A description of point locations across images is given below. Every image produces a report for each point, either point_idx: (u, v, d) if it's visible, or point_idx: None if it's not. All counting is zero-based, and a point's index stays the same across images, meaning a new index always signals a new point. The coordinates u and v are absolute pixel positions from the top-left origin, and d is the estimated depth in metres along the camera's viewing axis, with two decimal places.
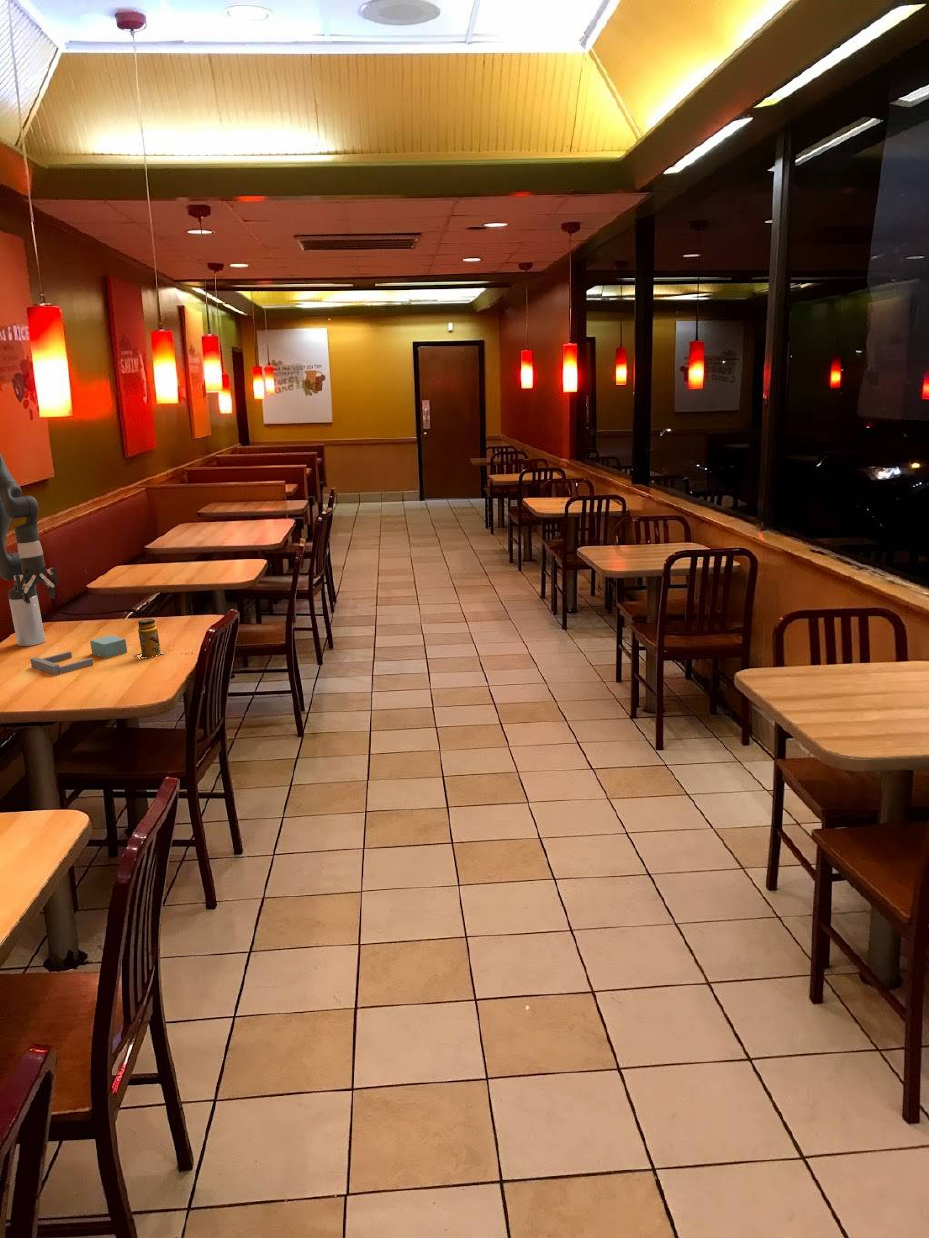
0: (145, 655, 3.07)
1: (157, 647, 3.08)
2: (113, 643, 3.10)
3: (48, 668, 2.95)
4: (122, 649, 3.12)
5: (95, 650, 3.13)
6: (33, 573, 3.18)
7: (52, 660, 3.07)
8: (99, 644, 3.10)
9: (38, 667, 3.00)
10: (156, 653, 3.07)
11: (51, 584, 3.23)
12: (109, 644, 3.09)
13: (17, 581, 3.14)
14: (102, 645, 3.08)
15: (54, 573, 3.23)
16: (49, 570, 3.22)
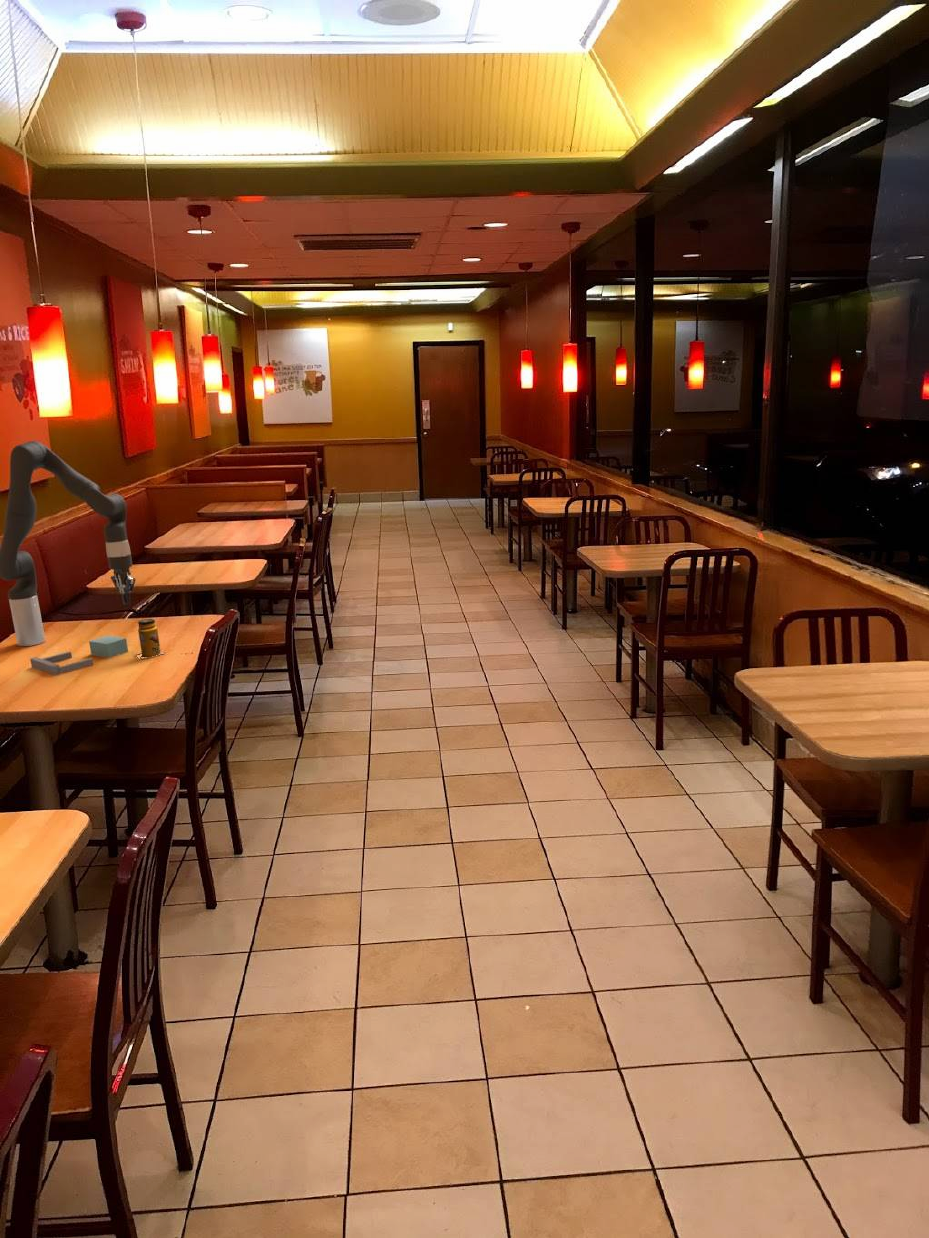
0: (145, 655, 3.07)
1: (157, 647, 3.08)
2: (115, 642, 3.10)
3: (48, 668, 2.95)
4: (123, 649, 3.13)
5: (95, 650, 3.12)
6: None
7: (52, 660, 3.07)
8: (100, 644, 3.10)
9: (38, 667, 3.00)
10: (156, 653, 3.07)
11: None
12: (111, 644, 3.09)
13: (133, 583, 3.13)
14: (104, 645, 3.09)
15: None
16: None
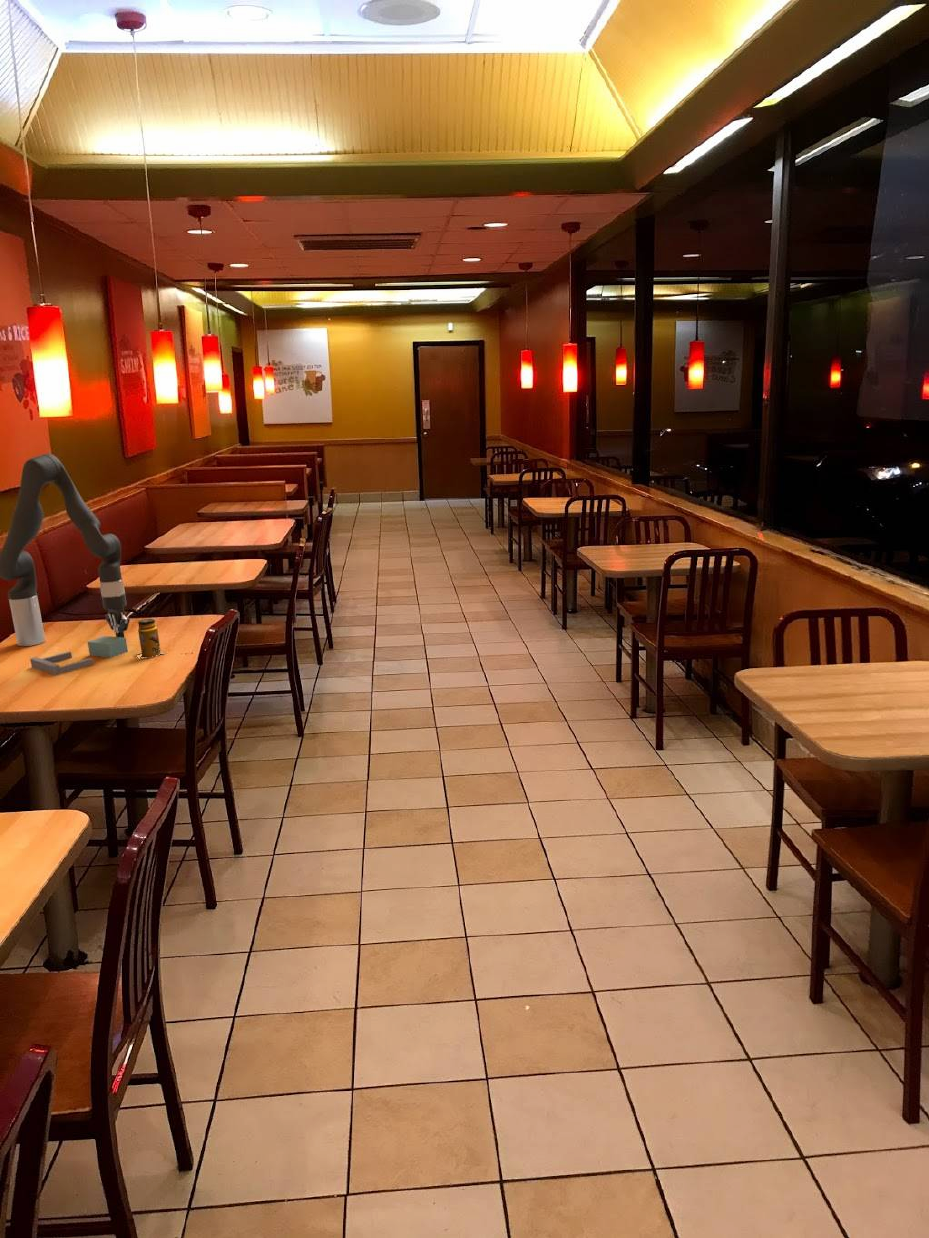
0: (145, 655, 3.07)
1: (157, 647, 3.08)
2: (115, 642, 3.10)
3: (48, 668, 2.95)
4: (123, 648, 3.13)
5: (94, 651, 3.12)
6: None
7: (52, 660, 3.07)
8: (101, 644, 3.09)
9: (38, 667, 3.00)
10: (156, 653, 3.07)
11: None
12: (112, 643, 3.09)
13: (128, 622, 3.13)
14: (105, 645, 3.08)
15: None
16: None
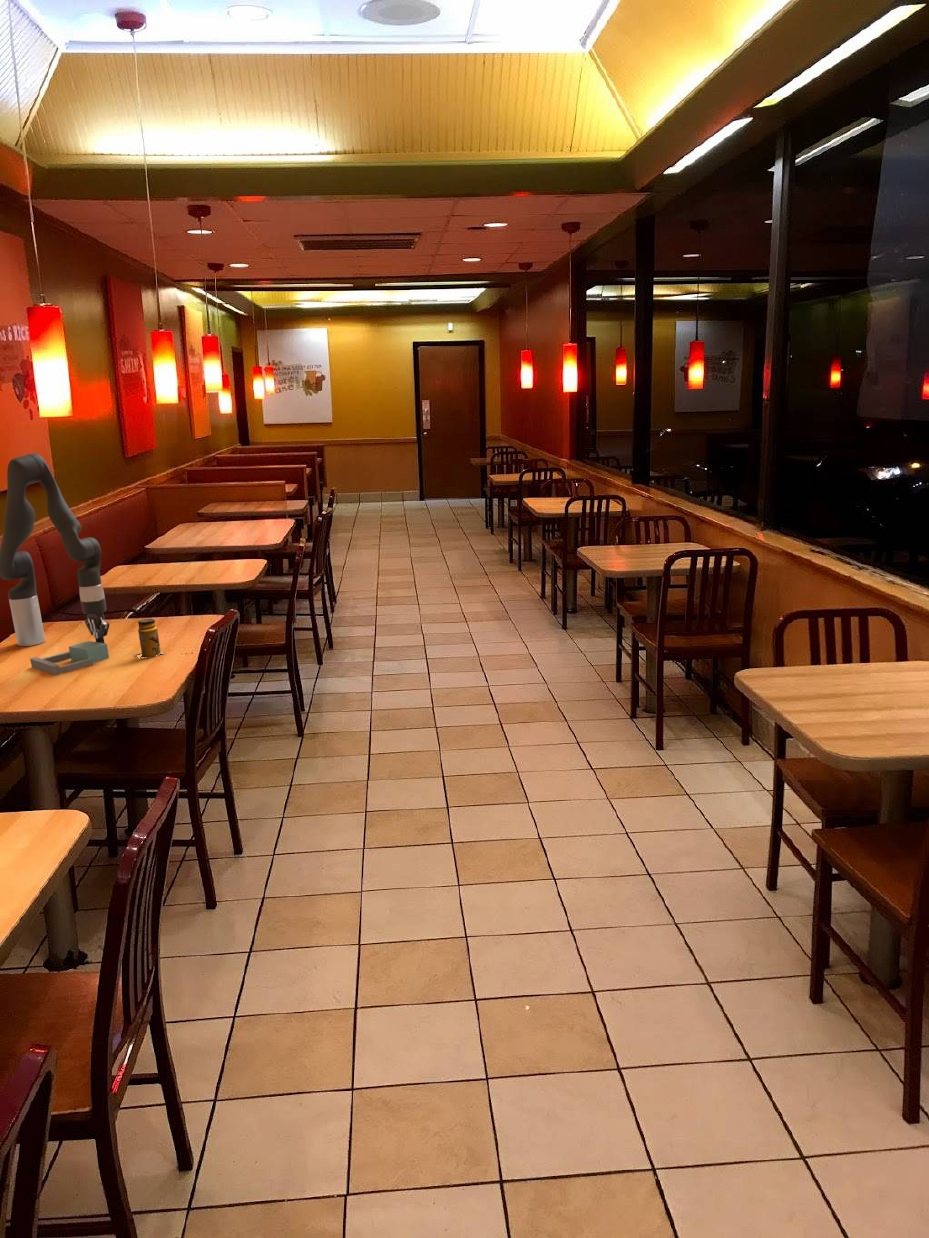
0: (145, 655, 3.07)
1: (157, 647, 3.08)
2: (95, 648, 3.04)
3: (48, 668, 2.95)
4: (103, 654, 3.07)
5: (75, 656, 3.07)
6: None
7: (52, 660, 3.07)
8: (80, 650, 3.04)
9: (38, 667, 3.00)
10: (156, 653, 3.07)
11: None
12: (91, 649, 3.03)
13: (107, 628, 3.08)
14: (84, 650, 3.03)
15: None
16: None
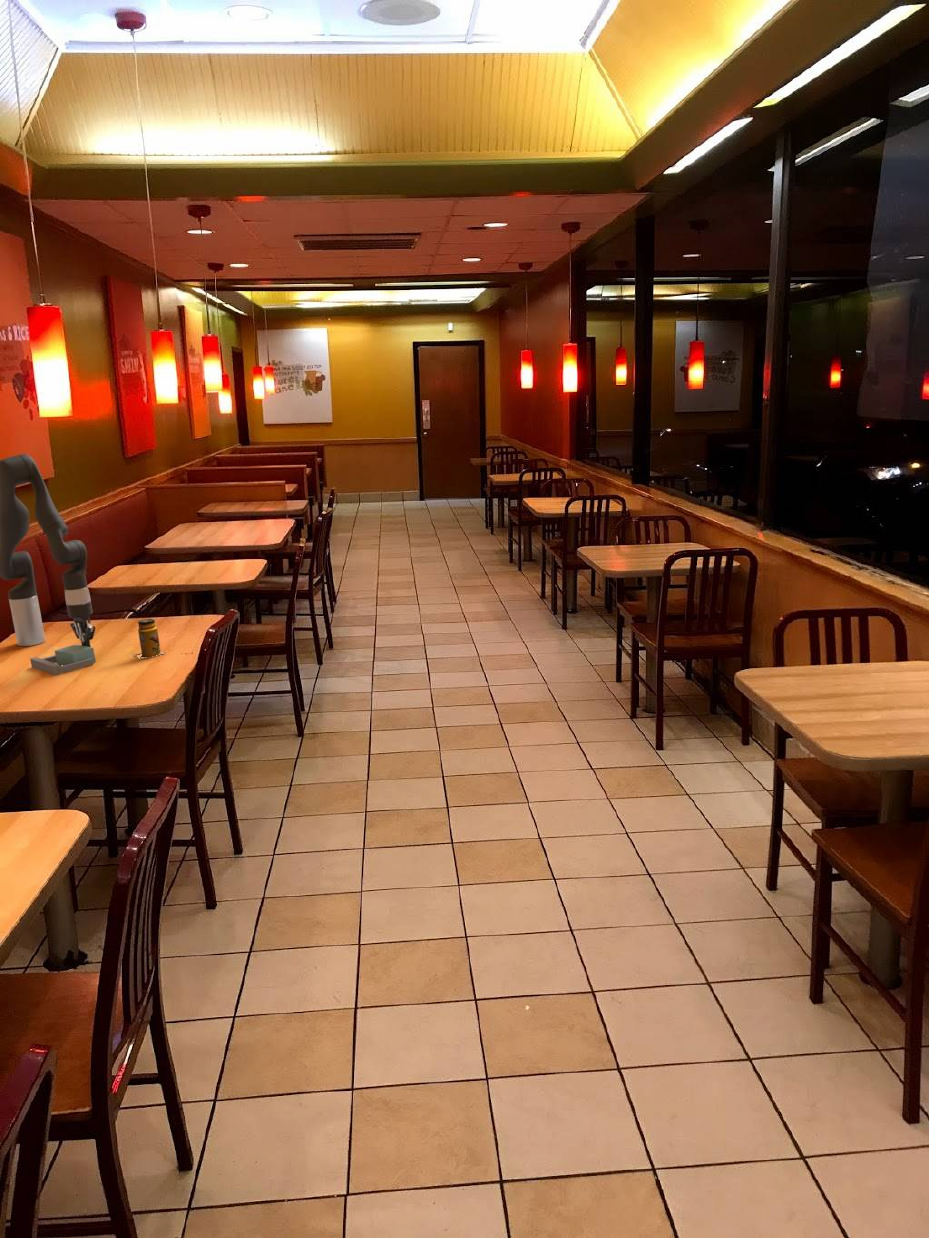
0: (145, 655, 3.07)
1: (157, 647, 3.08)
2: (81, 652, 3.01)
3: (48, 668, 2.95)
4: None
5: (61, 660, 3.03)
6: None
7: (52, 660, 3.07)
8: (66, 654, 3.00)
9: (38, 667, 3.00)
10: (156, 653, 3.07)
11: None
12: (77, 653, 2.99)
13: (93, 631, 3.04)
14: (70, 654, 2.99)
15: None
16: None
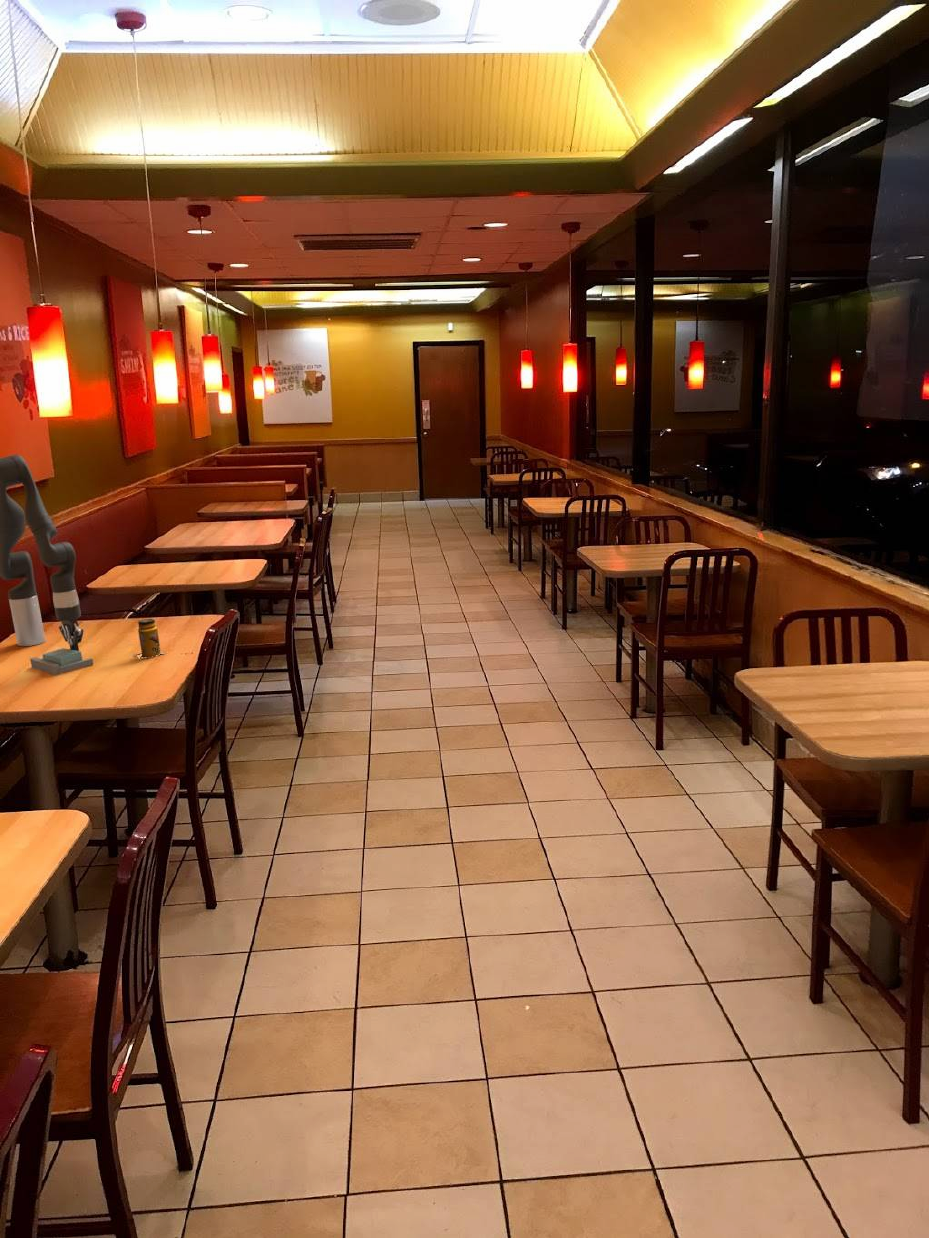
0: (145, 655, 3.07)
1: (157, 647, 3.08)
2: (69, 656, 2.98)
3: (48, 668, 2.95)
4: None
5: None
6: None
7: None
8: (54, 658, 2.97)
9: (38, 667, 3.00)
10: (156, 653, 3.07)
11: None
12: (65, 657, 2.96)
13: None
14: (57, 658, 2.96)
15: None
16: None
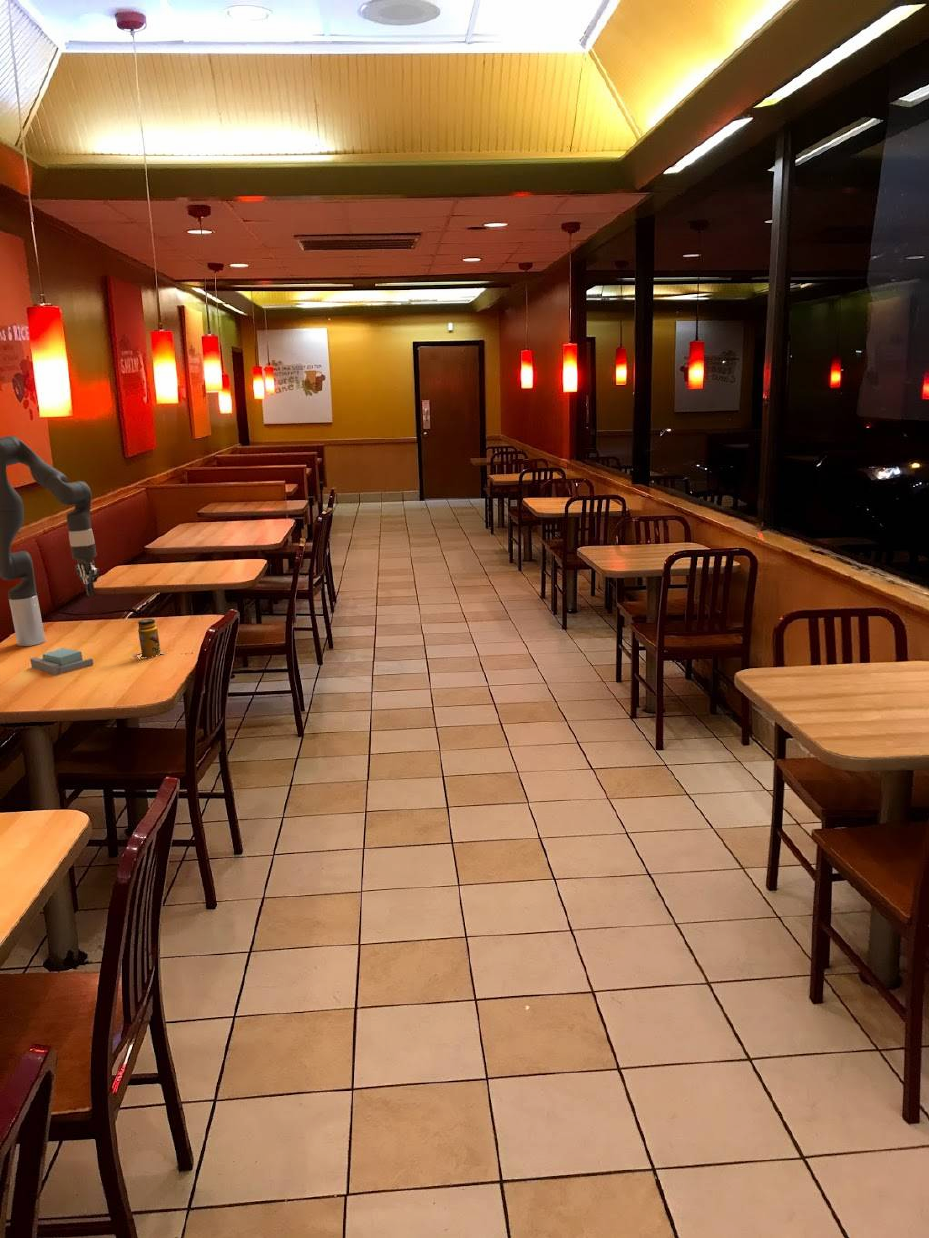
0: (145, 655, 3.07)
1: (157, 647, 3.08)
2: (69, 656, 2.98)
3: (48, 668, 2.95)
4: None
5: None
6: None
7: None
8: (54, 657, 2.97)
9: (38, 667, 3.00)
10: (156, 653, 3.07)
11: None
12: (65, 657, 2.97)
13: (97, 573, 3.03)
14: (57, 658, 2.96)
15: None
16: None
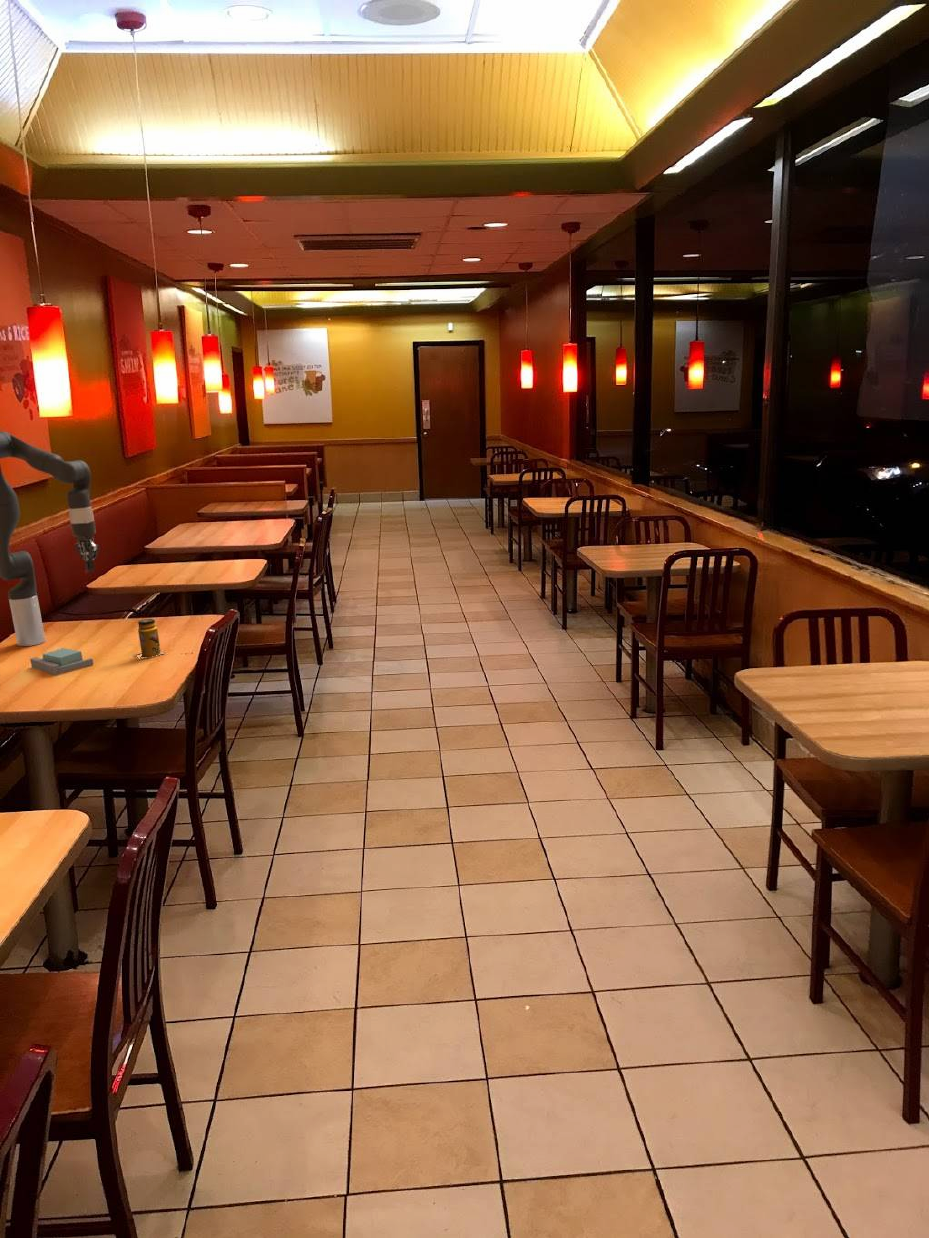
0: (145, 655, 3.07)
1: (157, 647, 3.08)
2: (69, 656, 2.98)
3: (48, 668, 2.95)
4: None
5: None
6: None
7: None
8: (54, 657, 2.97)
9: (38, 667, 3.00)
10: (156, 653, 3.07)
11: None
12: (65, 657, 2.97)
13: None
14: (57, 658, 2.96)
15: None
16: None
